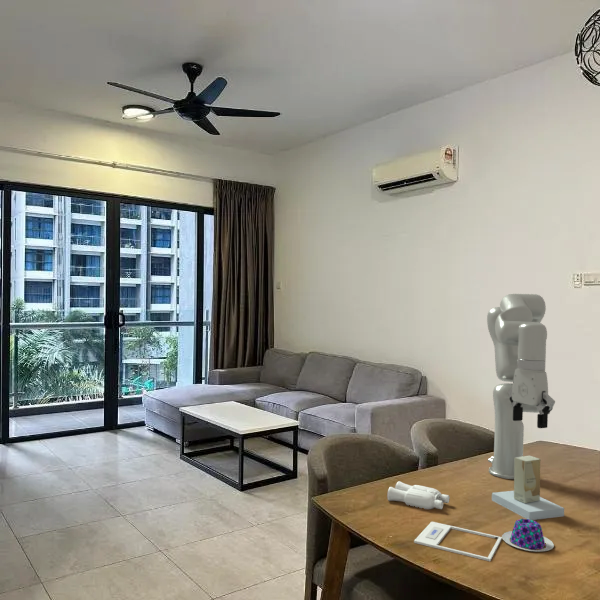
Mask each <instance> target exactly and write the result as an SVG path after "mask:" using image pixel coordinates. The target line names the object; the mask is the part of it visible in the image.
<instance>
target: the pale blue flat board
mask: <svg viewBox="0 0 600 600" xmlns="http://www.w3.org/2000/svg"><path fill="white" fill-rule="evenodd" d="M491 501H492V502H493V503H496V504H498V505H500V506H501V507H503V508H505V509H506V510H507V509H508V510H509V511H512V512H513V513H514V514H516V515H518V516H521V517H522V518H523V519H530V520H532V521H536V520H544V519H552V518H561V517H565V508H564V507H563V506H561V505H559V504H557V503H554V502H553V501H550V500H548V499H545V498H543V497H541V496H540V500H539V501H534V502H528V503H523V502H521V501H519V500H516V499H514V490H507V491H498V492H497V491H495V492H492V493H491Z"/></svg>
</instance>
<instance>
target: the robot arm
mask: <svg viewBox="0 0 600 600" xmlns="http://www.w3.org/2000/svg"><path fill="white" fill-rule="evenodd" d="M546 310H547V308H546V302H545V299H544V298H543V296H541V295H540V294H536V293H535V294H534V293H531V294H529V293H510V294H506V295H505V296H503V297H502V299H500V303H499V306H496V307H492V308H491V309H489V310H488V312H487V315H486V323H487V329H488V333H489V336H490V338H491V341H492V342H493V346H494V347H493V348H494V362H495V372H496V377H497V379H499V381H503V383H499V384H497V385H496V386H495V387H494V388H493V390H492V398H493V399H492V400H493V406H494V407H493V408H494V437H493V438H494V440H493V442H494V443H493V455H492V456H491V457H490V458H488V459H487V461H488V463H491V466H490V467H489V468H488V472H489V474H490V475H491V476H495V477H498V478H502V479H507V480H508V479H509V480H514V465H515V458H516V457H521V456H524V435H525V434H524V432H525V430H524V429H525V426H524V423H523V420H524V419H523V417H524V416H523V414H524V413H533V414H534V413H537V415H536V416H537V417H536V427H537V429H547V428H548V422H549V421H548V418H549V415H550V413H551V412H552V410H553V408H554V406H555V403H556V400H555V399H553V397H552V396H550V395H549V382H548V375H547V374H548V373H547V371H546V362H547V361H546V358H547V356H546V355H547V338H548V331H547V327H546V325H544V324H543V323H542V321H543V318H544V317H545V314H546ZM504 382H506V383H504ZM509 382H510V383H509Z"/></svg>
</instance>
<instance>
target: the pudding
mask: <svg viewBox="0 0 600 600" xmlns="http://www.w3.org/2000/svg"><path fill="white" fill-rule="evenodd" d="M513 525H514V526H513V529H512V530H509V531H505V532H504V533H502V534H501V537H502V540H503V541H504V542H505V543H506V544H507V545H509V546H512V547H515V548H517V549H519V550H524V551H529V552H547V551H550V550H553V548H554V546H555V544H554V543H553V541H552V540H551V539H549V538H548V537H546V536H544V533H543V528H542V526H541V523H539V522H538V521H536V520H530V519H526V518H520V519H516V521H515V522H514V524H513ZM545 543H546V544H545ZM545 547H546V548H545Z"/></svg>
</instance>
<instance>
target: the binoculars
mask: <svg viewBox="0 0 600 600" xmlns="http://www.w3.org/2000/svg"><path fill="white" fill-rule="evenodd" d="M450 497H451V496H450V495H449V494H443V493H441V492H440V491H439V490H438V489H436V488H433V487H428V486H424V485H418V484H414V485H410V484H407V483H404V482H402V481H400V480H399V481H397V482H396V484H395V486H394V487H393V486H389V488H388V490H387V500H388V501H389V502H391V501H392V502H393V501H396V502H403V503H405V505H406V506H409V505H410V507H414V506H415V507H414V508H418V507H419V509H422V508H424V509H423V510H432V509H434V508H435V509H439V510H443V507H444V504H449V502H450Z"/></svg>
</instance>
